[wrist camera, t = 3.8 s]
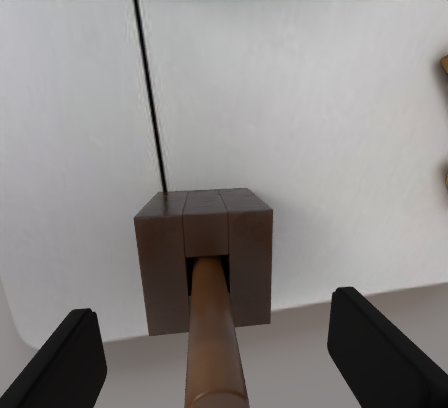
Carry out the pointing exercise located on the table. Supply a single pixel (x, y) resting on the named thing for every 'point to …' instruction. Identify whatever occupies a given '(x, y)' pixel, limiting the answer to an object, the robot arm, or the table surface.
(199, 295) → the stick
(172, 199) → the holder
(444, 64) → the kendama
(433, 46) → the table surface
